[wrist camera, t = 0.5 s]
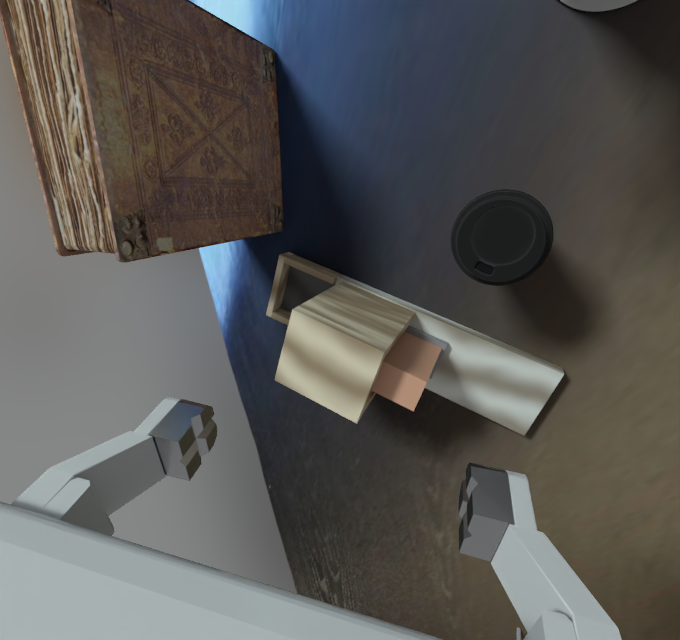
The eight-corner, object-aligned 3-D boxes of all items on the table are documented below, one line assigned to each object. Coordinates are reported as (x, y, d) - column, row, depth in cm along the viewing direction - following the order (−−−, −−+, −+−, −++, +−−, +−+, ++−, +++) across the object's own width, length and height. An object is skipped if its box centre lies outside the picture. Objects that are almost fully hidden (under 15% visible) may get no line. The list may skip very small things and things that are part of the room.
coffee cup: (465, 265, 53) (450, 291, 40) (463, 193, 50) (446, 196, 37) (542, 261, 49) (553, 288, 36) (544, 183, 46) (557, 182, 33)
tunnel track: (288, 251, 63) (218, 272, 48) (562, 367, 52) (583, 443, 37) (275, 310, 68) (207, 345, 53) (523, 428, 57) (528, 516, 41)
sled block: (373, 309, 58) (342, 336, 48) (448, 342, 55) (433, 379, 45) (361, 342, 61) (330, 375, 50) (432, 375, 58) (415, 418, 47)
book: (284, 232, 62) (120, 266, 36) (237, 230, 66) (57, 259, 40) (275, 49, 54) (55, -78, 28) (222, 57, 57) (-18, -50, 31)
